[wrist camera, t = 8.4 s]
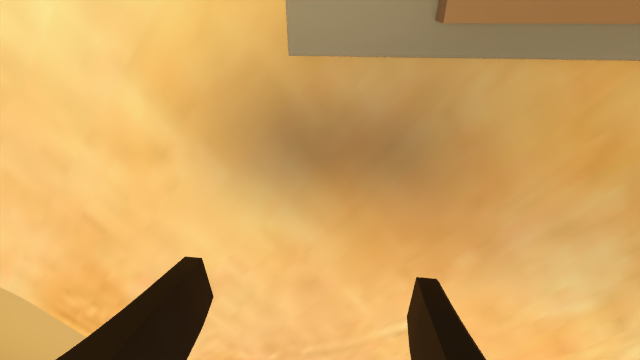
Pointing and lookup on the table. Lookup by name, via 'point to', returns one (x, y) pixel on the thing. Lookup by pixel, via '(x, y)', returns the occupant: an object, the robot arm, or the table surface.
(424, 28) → the build base
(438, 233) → the table surface
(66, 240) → the table surface
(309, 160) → the table surface
